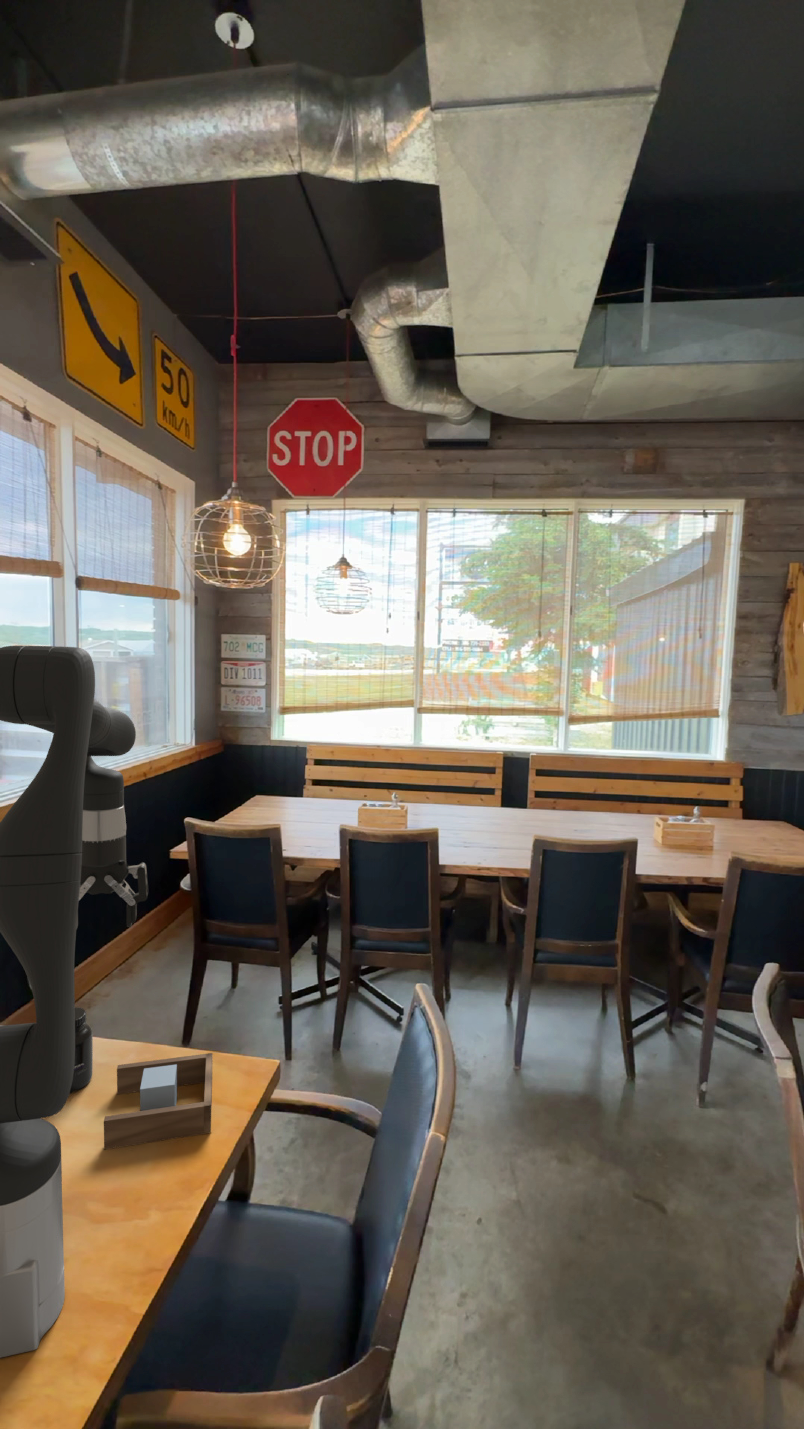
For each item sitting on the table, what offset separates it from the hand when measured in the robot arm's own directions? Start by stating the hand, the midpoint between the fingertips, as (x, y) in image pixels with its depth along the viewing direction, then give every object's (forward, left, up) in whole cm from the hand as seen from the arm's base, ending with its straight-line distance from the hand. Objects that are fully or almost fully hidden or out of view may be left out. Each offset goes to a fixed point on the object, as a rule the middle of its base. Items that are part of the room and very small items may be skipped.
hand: (102, 927), depth 109 cm
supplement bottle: (-1, +5, -26) cm, 27 cm away
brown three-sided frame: (-12, -10, -26) cm, 30 cm away
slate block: (-12, -10, -26) cm, 30 cm away
